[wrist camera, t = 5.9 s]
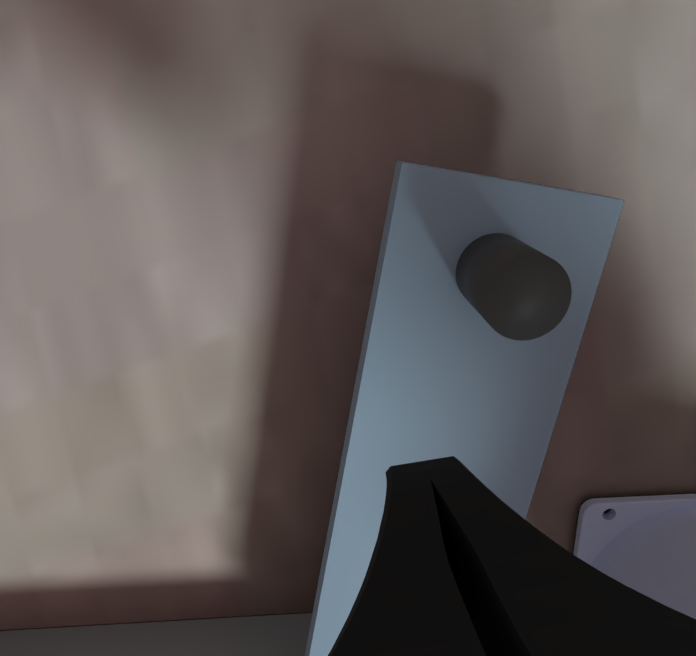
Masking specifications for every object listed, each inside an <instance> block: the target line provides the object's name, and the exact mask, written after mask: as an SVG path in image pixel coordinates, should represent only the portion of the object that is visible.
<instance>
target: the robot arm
mask: <svg viewBox="0 0 696 656" xmlns="http://www.w3.org/2000/svg"><path fill="white" fill-rule="evenodd" d="M385 473H386V480H387V487H386V498H385V505H384V511H383V516H382V520H381V524H380V529H379V533H378V537H377V541H376V544H375V547H374V551H373V554H372V557H371V560H370V563H369V566H368V569H367V572H366V575H365V578H364V580H363V583H362V586H361V588H360V591H359V593H358V595H357V598H356V600H355V602H354V605H353V607H352V609H351V611H350V614H349V616H348V618H347V620H346V622H345V624H344V626H343V628H342V630H341V632H340V634H339V636H338V638H337V639H336V641H335V643H334V645H333V647H332V649H331V651H330V653H329V654H328V656H696V494H676V495H655V496H634V497H614V498H594V499H589V500H587V501H586V502H584V503H583V504H582V505H581V508H580V511H579V518H578V525H577V532H576V539H575V546H574V553H573V554H571V553H570V552H568V551H567V550H565V549H564V548H563V547H561V546H560V545H558V544H557V543H555V542H554V541H553V540H551V539H550V538H549V537H547V536H546V535H545V534H543V533H542V532H540V531H539V530H538V529H536V528H535V527H534V526H533V525H531V524H530V523H529V522H527V521H526V520H525V519H524V518H522V517H521V516H520V515H519V514H518V513H516V512H515V511H514V510H513V509H512V508H510V507H509V506H508V505H507V504H506V503H504V502H503V501H502V500H501V499H500V498H499V497H497V496H496V495H495V494H494V493H493V492H492V491H491V490H490V489H489V488H487V487H486V486H485V485H484V484H483V483H482V482H481V481H480V480H479V479H478V478H477V477H476V476H475V475H474V474H473V473H472V472H471V471H469V470H468V469H467V468H466V467H465V466H464V465H463V464H462V463H461V462H460V461H459V460H458V459H457V458H455V457H454V456H450V457H444V458H438V459H432V460H426V461H420V462H413V463H407V464H401V465H395V466H390V467H389V469H388V470H387V471H386V472H385ZM607 509H610V511H609V512H608V513H605V514H603V512H604V511H605V510H607Z"/></svg>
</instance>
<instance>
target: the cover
mask: <svg viewBox="0 0 696 656" xmlns="http://www.w3.org/2000/svg"><path fill="white" fill-rule="evenodd" d="M623 204H624V200H620V199H616V198H612V197H608V196H603V195H597V194H592V193H586V192H580V191H574V190H568V189H562V188H556V187H551V186H545V185H539V184H533V183H527V182H521V181H516V180H510V179H504V178H498V177H492V176H486V175H481V174H475V173H469V172H463V171H457V170H451V169H445V168H440V167H434V166H428V165H422V164H416V163H410V162H405V161H399V160H396V165H395V171H394V176H393V182H392V187H391V192H390V198H389V203H388V209H387V214H386V219H385V225H384V230H383V236H382V241H381V246H380V252H379V257H378V262H377V268H376V273H375V279H374V284H373V289H372V295H371V300H370V306H369V311H368V316H367V322H366V327H365V333H364V338H363V343H362V349H361V354H360V360H359V365H358V370H357V376H356V381H355V386H354V392H353V397H352V403H351V408H350V413H349V419H348V424H347V430H346V435H345V440H344V446H343V451H342V457H341V462H340V467H339V473H338V478H337V484H336V489H335V494H334V500H333V505H332V510H331V516H330V521H329V527H328V532H327V537H326V543H325V548H324V554H323V559H322V564H321V570H320V575H319V581H318V586H317V591H316V597H315V602H314V608H313V613H312V618H311V624H310V629H309V634H308V640H307V645H306V651H305V656H328V654H329V653H330V651H331V649H332V647H333V645H334V643H335V641H336V639H337V638H338V636H339V634H340V632H341V630H342V628H343V626H344V624H345V622H346V620H347V618H348V616H349V614H350V611H351V609H352V607H353V605H354V602H355V600H356V598H357V595H358V593H359V591H360V588H361V586H362V583H363V580H364V578H365V575H366V572H367V569H368V566H369V563H370V560H371V557H372V554H373V551H374V547H375V544H376V541H377V537H378V533H379V529H380V524H381V520H382V516H383V511H384V505H385V498H386V487H387V480H386V473H385V472H386V471H387V470H388V469H389V467H390V466H395V465H401V464H407V463H413V462H420V461H426V460H432V459H438V458H444V457H450V456H454V457H455V458H457V459H458V460H459V461H460V462H461V463H462V464H463V465H464V466H465V467H466V468H467V469H468V470H469V471H471V472H472V473H473V474H474V475H475V476H476V477H477V478H478V479H479V480H480V481H481V482H482V483H483V484H484V485H485V486H486V487H487V488H489V489H490V490H491V491H492V492H493V493H494V494H495V495H496V496H497V497H499V498H500V499H501V500H502V501H503V502H504V503H506V504H507V505H508V506H509V507H510V508H512V509H513V510H514V511H515V512H516V513H518V514H519V515H520V516H521V517H522V518H524V519H525V520H526V516H527V513H528V510H529V507H530V504H531V500H532V497H533V494H534V491H535V487H536V484H537V481H538V478H539V475H540V471H541V468H542V465H543V462H544V458H545V455H546V452H547V449H548V446H549V442H550V439H551V436H552V433H553V429H554V426H555V423H556V420H557V417H558V413H559V410H560V407H561V404H562V400H563V397H564V394H565V391H566V388H567V384H568V381H569V378H570V375H571V371H572V368H573V365H574V362H575V359H576V355H577V352H578V349H579V346H580V342H581V339H582V336H583V333H584V330H585V326H586V323H587V320H588V317H589V313H590V310H591V307H592V304H593V301H594V297H595V294H596V291H597V288H598V284H599V281H600V278H601V275H602V272H603V268H604V265H605V262H606V259H607V255H608V252H609V249H610V246H611V243H612V239H613V236H614V233H615V230H616V226H617V223H618V220H619V217H620V213H621V210H622V207H623Z"/></svg>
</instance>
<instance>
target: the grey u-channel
mask: <svg viewBox="0 0 696 656" xmlns="http://www.w3.org/2000/svg"><path fill="white" fill-rule="evenodd" d="M311 618H312V613H302V614H285V615H267V616H250V617H233V618H216V619H199V620H182V621H165V622H147V623H130V624H113V625H96V626H79V627H62V628H44V629H27V630H10V631H0V656H305V651H306V645H307V640H308V634H309V629H310V624H311Z"/></svg>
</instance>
